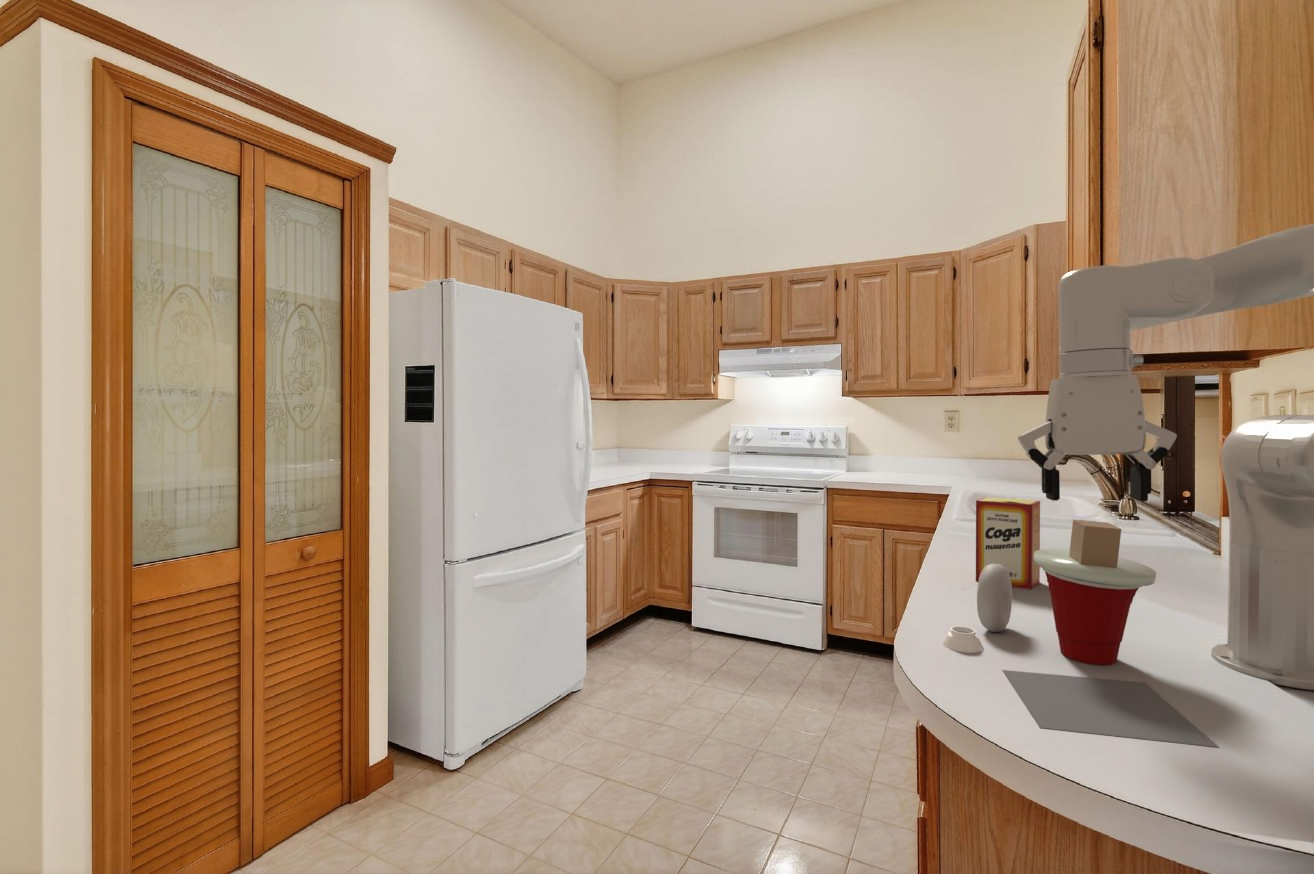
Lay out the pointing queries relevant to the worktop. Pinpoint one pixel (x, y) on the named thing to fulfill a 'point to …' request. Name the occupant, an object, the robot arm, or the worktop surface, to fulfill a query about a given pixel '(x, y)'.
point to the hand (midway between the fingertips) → (1095, 499)
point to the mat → (1103, 708)
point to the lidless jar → (963, 640)
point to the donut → (994, 597)
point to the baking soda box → (1009, 538)
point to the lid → (1095, 557)
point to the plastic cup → (1089, 617)
